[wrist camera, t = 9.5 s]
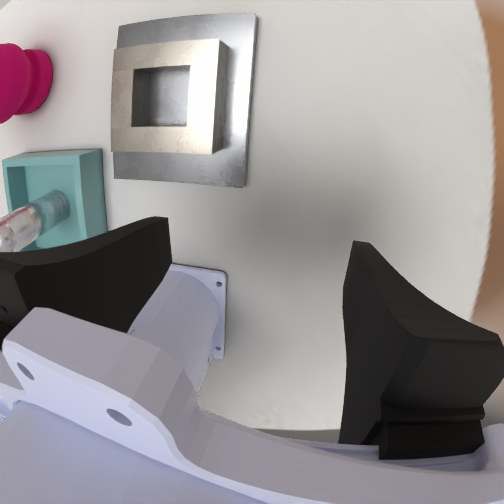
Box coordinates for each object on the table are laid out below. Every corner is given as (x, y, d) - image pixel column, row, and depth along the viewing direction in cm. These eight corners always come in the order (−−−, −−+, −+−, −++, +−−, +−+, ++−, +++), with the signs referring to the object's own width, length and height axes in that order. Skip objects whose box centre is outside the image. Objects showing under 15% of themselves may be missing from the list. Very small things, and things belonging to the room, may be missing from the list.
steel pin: (71, 223, 25) (7, 268, 17) (48, 218, 25) (-14, 259, 17) (68, 191, 23) (-1, 230, 16) (45, 188, 24) (-22, 224, 16)
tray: (112, 264, 27) (94, 280, 24) (37, 249, 28) (19, 261, 25) (102, 148, 22) (79, 155, 19) (23, 153, 23) (2, 159, 20)
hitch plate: (245, 184, 22) (234, 197, 18) (120, 175, 23) (95, 186, 20) (258, 17, 16) (249, 1, 13) (125, 28, 17) (100, 20, 14)
